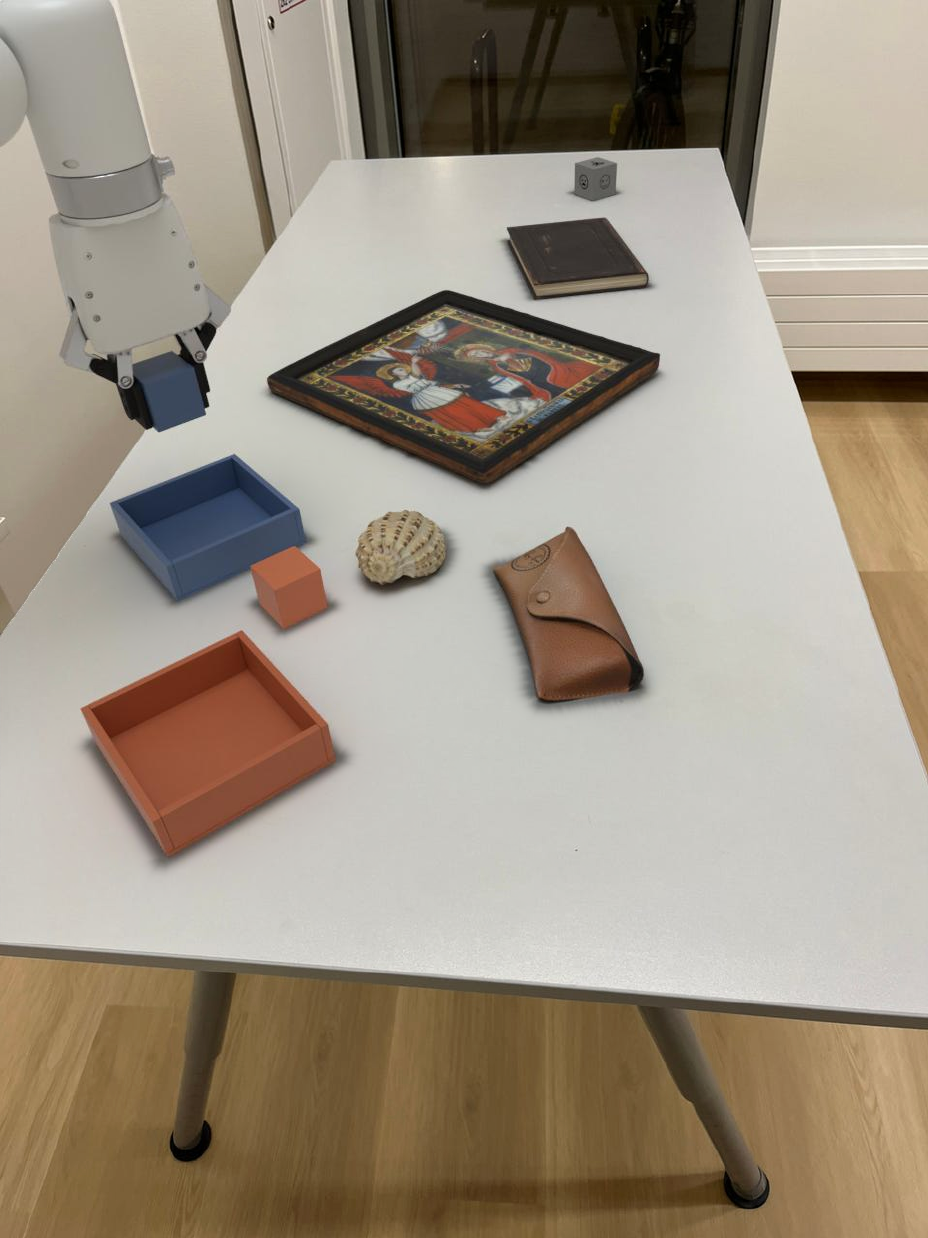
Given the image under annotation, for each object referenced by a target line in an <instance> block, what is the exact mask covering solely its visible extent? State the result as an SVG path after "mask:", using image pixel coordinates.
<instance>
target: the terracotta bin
mask: <svg viewBox="0 0 928 1238" xmlns="http://www.w3.org/2000/svg"><path fill="white" fill-rule="evenodd" d="M80 712H81V714H82V716H83V719H84V720H85V723H86V725H87V727H88V729H89V731H90V733H91V735H92V737H93V740H94V743H95V745H96V746H97V747H98V749H99V751H100V752H101V754H102V756H103V757H104V759H105V761H106V762H107V764H108V765H109V767H110V768H111V770H112V772H113V773H114V775H115V776H116V778H117V779H118V781H119V782H120V784H121V786H122V787H123V789H124V790H125V792H126V794H127V795H128V797H129V798H130V800H131V801H132V803H133V805H134V806H135V808H136V810H137V811H138V812H139V814H140V816H141V817H142V819H143V821H144V822H145V824H146V825H147V827H148V828H149V830H150V832H151V833H152V835H153V837H154V838H155V839H156V841H157V843H158V844H159V846H160V848H161V849H162V851H163V853H164V854H165V855H166V857H167V858H170V857H172V856H174V855H175V854H177V853H179V852H181V851H182V850H184V849H186V848H187V847H189V846H191V845H192V844H194V843H196V842H198V841H200V840H201V839H203V838H205V837H207V836H208V835H210V834H212V833H213V832H215V831H217V830H219V829H220V828H222V827H224V826H226V825H227V824H229V823H231V822H232V821H234V820H236V819H238V818H240V817H241V816H243V815H244V814H246V813H248V812H249V811H252V810H253V809H255V808H257V807H258V806H260V805H262V804H263V803H266V802H267V801H269V800H270V799H272V798H274V797H275V796H277V795H279V794H280V793H282V792H284V791H286V790H288V789H290V788H291V787H293V786H295V785H297V784H298V783H300V782H301V781H303V780H305V779H307V778H308V777H310V776H312V775H313V774H315V773H317V772H319V771H321V770H322V769H324V768H326V767H327V766H329V765H331V764H333V763H335V762H336V761H337V759H336V754H335V750H334V745H333V740H332V736H331V731H330V727H329V724H328V722H327V721H326V720H325V719H324V718H323V717H322V716H321V714H320V713H318V711H317V710H316V709H315V708H314V707H313V706H312V705H311V704H310V703H309V701H308V700H306V698H305V697H304V696H303V694H301V692H299V691H298V689H297V688H295V686H294V685H293V684H292V683H291V682H290V681H289V679H287V678H286V676H285V675H284V674H283V673H282V672H281V671H280V670H279V668H278V667H276V666H275V664H274V663H273V662H272V661H271V659H269V658H268V657H267V656H266V654H265V653H264V652H263V651H262V650H261V649H260V648H259V647H258V646H257V644H255V642H253V640H252V639H251V638H250V637H249V636H248V635H247V634H246V633H245V631H244V630H242V629H241V630H239V631H237V632H235V633H233V634H231V635H229V636H227V637H224V638H222V639H221V640H219V641H216V642H214V643H211V644H210V645H208V646H206V647H204V648H202V649H200V650H198V651H196V652H194V653H192V654H190V655H187V656H185V657H183V658H181V659H179V660H177V661H175V662H173V663H171V664H169V665H166V666H165V667H162V668H160V669H158V670H157V671H154V672H152V673H151V674H149V675H146V676H144V677H142V678H140V679H137V680H136V681H134V682H132V683H130V684H127V685H125V686H124V687H122V688H119V689H117V690H115V691H112V692H110V693H109V694H107V695H105V696H103V697H101V698H98V699H96V700H94V701H92V702H91V703H88V704H87V705H84V706H82V707H81V708H80Z"/></svg>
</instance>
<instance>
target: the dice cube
mask: <svg viewBox="0 0 928 1238" xmlns="http://www.w3.org/2000/svg"><path fill="white" fill-rule="evenodd" d="M617 172H618V163H617V162H614V161H612V160H608V159H606V158H602V157H599V156H597V157H593V158H589V159H585V160H581V161H578V162H575V163H574V189H573V190H574V192H573V194H574V195H575V196H578V197H580V198H583V199H586V200H589V201H591V202H594V201H598V200H601V199H602V200H603V199H605V198H608V197H611V196H615V195H617V174H618V173H617Z"/></svg>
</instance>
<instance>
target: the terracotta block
mask: <svg viewBox="0 0 928 1238" xmlns="http://www.w3.org/2000/svg"><path fill="white" fill-rule="evenodd" d="M250 572H251V575H252V579H253V584H254V588H255V592H256V596H257V600H258V603H259V606H260V607H261V608H262V609H263V610H264V611H265V612H266V613H267V614H268V615H269V616H270V617H271V618H272V619H273V620H274V621H275V622H276V623H277V625H279V626H280V627H281V629H283V630H286V629H288V628H289V627H292V626H294V625H296V624H298V623H300V622H302V621H304V620H306V619H308V618H310V617H312V616H314V615H316V614H318V613H320V612H322V611H324V610H327V609H328V608H329V606H328V602H327V597H326V591H325V586H324V581H323V576H322V570H321V568H320V567H319V566H318V565H317V564H316V563H315V562H313V561H312V560H311V559H310V558H309V557H308V556H307V555H306V554H305V553H304V552H302V551H301V550H300V549H299V548H298V547H296V546H293V547H291V548H288V549H286V550H284V551H282V552H280V553H277V554H275V555H273V556H271V557H269V558H266V559H264V560H262V561H260V562H258V563H255V564H253V565H251V566H250Z"/></svg>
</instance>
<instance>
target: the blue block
mask: <svg viewBox="0 0 928 1238" xmlns="http://www.w3.org/2000/svg"><path fill="white" fill-rule="evenodd" d="M132 366H133V376H134V377H135V380H136V382H138V383H139V384H140V385H141V387H142V389H143V392H144V395H145V399H146V402H147V405H148V409H149V412H150V415H151V418H152V422H153V426H152V427H153V428H152V429H153V430H155V431H156V432H157V433H161V432H165V431H168V430H170V429H172V428H175V427H178V426H180V425H183V424H186V423H189V422H191V421H195V420H197V419H200V418H202V417H204V416H206V415H207V412H206V408H204V404H203V400H202V397H201V393H200V389H199V385H198V381H197V378H196V374H195V370H194V367H192V366H191V365H190V364H188V363H187V362H186V361H185V360H183V359H182V358H181V357H179V356H178V354H177V353H176V352H175V351H173V350H171V351H168V352H165V353H162V354H159V355H156V356H152V357H150V358H146V359H144V360H140V361H138V362H134V363H132Z"/></svg>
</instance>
